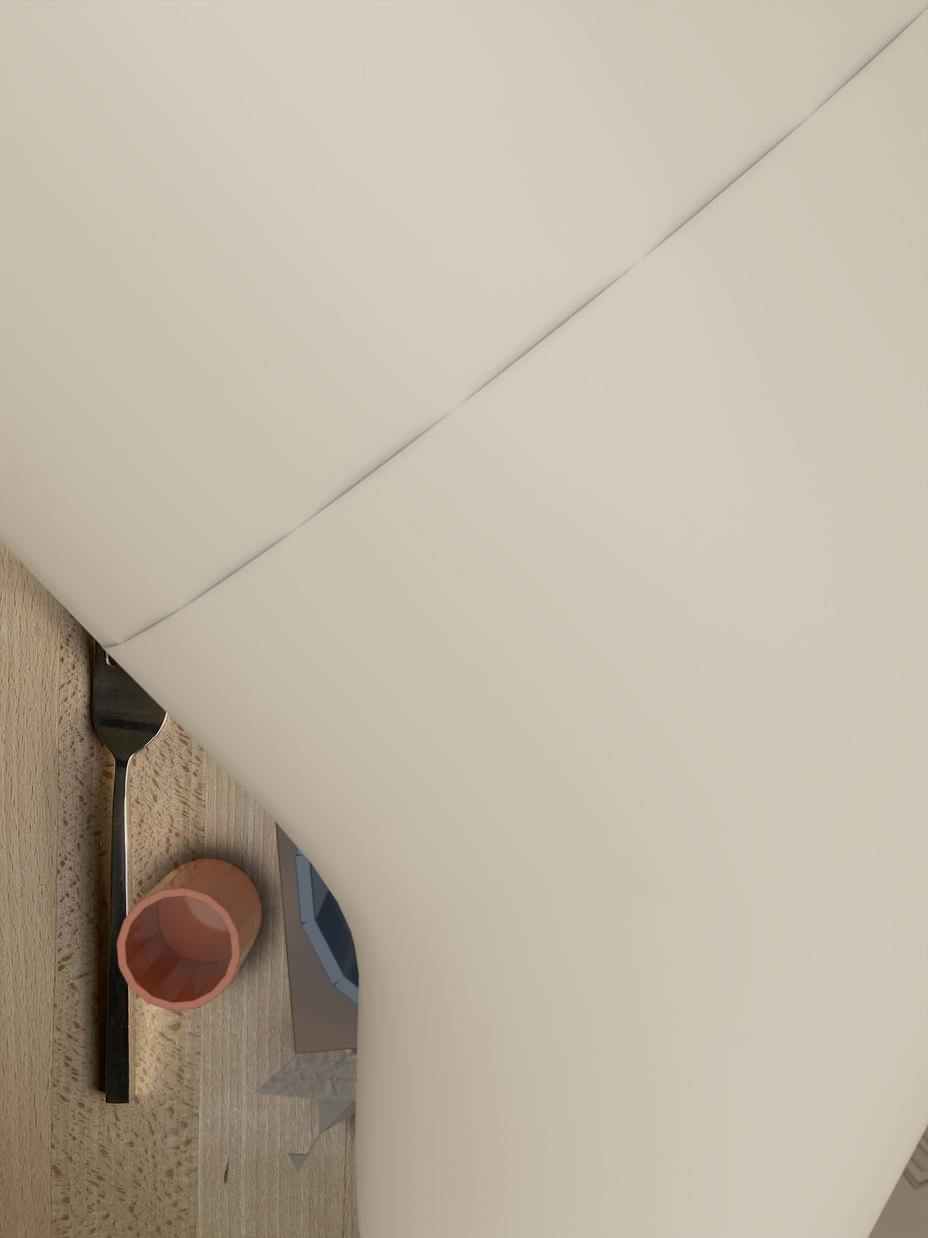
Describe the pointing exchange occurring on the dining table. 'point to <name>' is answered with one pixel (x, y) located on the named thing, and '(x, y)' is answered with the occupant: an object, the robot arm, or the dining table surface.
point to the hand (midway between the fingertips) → (869, 1044)
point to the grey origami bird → (318, 1087)
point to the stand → (310, 975)
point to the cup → (189, 934)
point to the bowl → (326, 929)
